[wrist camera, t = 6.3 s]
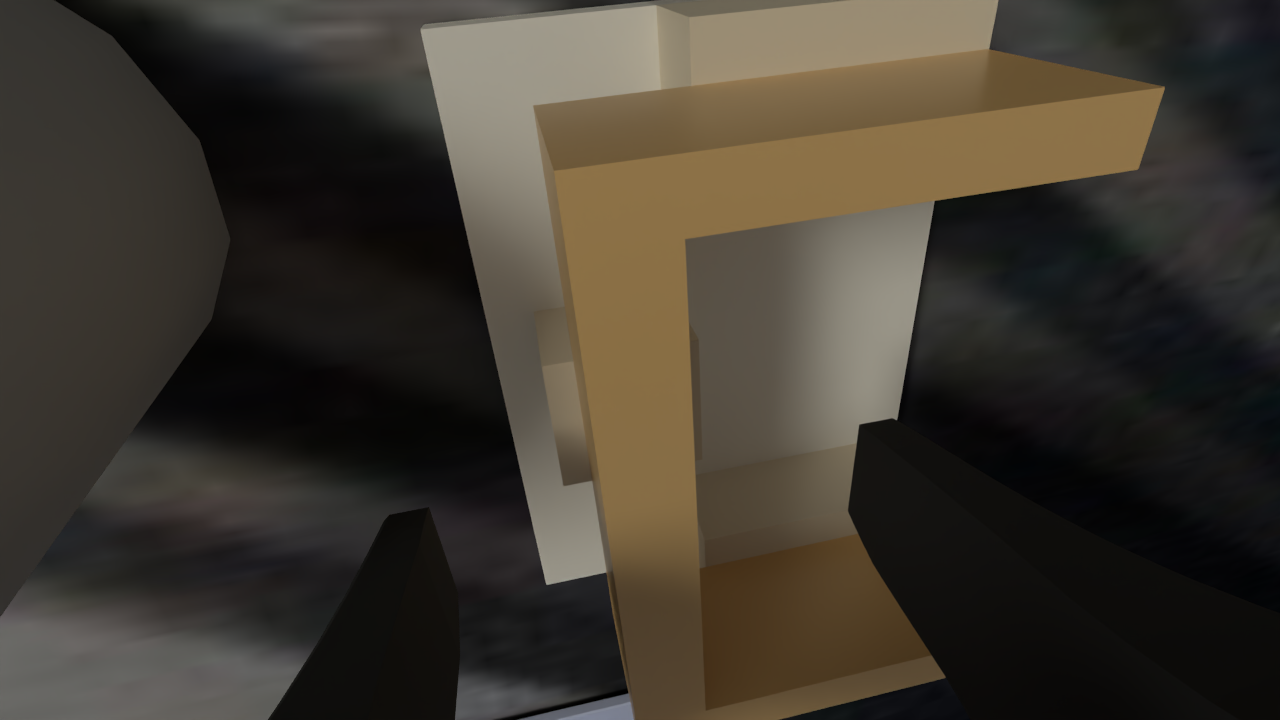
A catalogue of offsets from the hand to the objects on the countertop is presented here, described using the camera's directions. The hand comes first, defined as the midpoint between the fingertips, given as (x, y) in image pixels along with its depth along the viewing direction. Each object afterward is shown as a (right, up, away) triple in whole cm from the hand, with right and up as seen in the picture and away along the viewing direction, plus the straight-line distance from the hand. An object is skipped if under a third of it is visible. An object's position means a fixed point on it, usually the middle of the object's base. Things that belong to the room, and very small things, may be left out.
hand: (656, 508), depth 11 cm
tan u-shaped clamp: (+2, +2, +2) cm, 4 cm away
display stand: (+1, +3, +5) cm, 6 cm away
